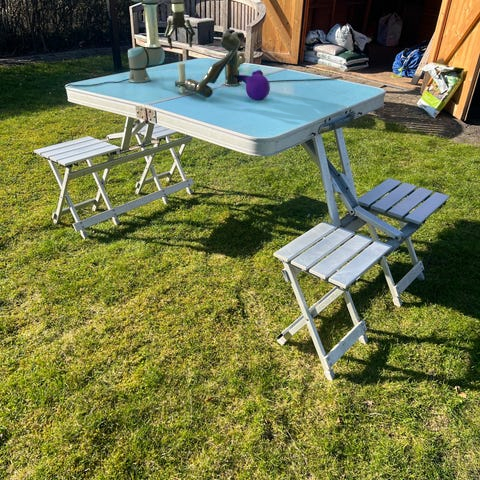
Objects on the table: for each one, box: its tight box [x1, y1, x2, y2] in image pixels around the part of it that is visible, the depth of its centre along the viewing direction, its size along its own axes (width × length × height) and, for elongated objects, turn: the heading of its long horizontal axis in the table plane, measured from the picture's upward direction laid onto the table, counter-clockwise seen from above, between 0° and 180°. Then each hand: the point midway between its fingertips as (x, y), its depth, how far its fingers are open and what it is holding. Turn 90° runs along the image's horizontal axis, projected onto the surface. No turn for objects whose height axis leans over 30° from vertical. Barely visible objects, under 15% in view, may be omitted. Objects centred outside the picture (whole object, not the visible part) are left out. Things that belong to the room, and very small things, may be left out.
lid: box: [177, 62, 186, 69], centre depth 295 cm, size 5×5×2 cm
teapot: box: [238, 51, 246, 69], centre depth 368 cm, size 21×12×15 cm, turn 120°
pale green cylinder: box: [177, 66, 188, 94], centre depth 299 cm, size 4×4×18 cm
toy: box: [233, 69, 271, 102], centre depth 280 cm, size 16×18×27 cm
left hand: (181, 48), depth 292 cm, fingers open, 13 cm apart
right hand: (181, 81), depth 302 cm, fingers open, 8 cm apart
